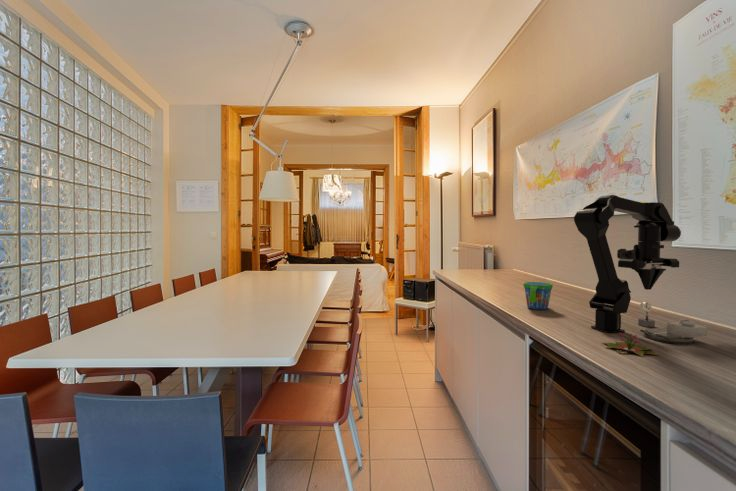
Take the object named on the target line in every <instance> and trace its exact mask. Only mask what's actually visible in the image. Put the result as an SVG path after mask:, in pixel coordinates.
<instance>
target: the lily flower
mask: <svg viewBox="0 0 736 491" xmlns="http://www.w3.org/2000/svg"><path fill="white" fill-rule="evenodd" d="M618 333H619V335H620V336H623V337H620V340H621V341H620V342H619V341H614V342H603V344H604V345H607V346H606V349H615V350H616V351H617V353H618V354H620V353H621V354H620V355H623V354H628V353H627V352H623V351H620V349H621V350H624V349H627V351H629V352H630V353H629V354H634V353H635V354H636V355H638V356H640V357H642V358H644V354H645V355H654V356H660V355H659V354H657V353H655V352H654V351H653V348H652V349H651V348H649V347H646V346H644V345H640V344H638V343H640V342H641V341H640V339H636V340H634V339H635V338H637V337H638V336H637V334H634V335H632V332H631V333H630V337H629V338H630V339H629V338H628V336H627V334H626V332H624V334H625V335H624V334H623V333H622V332H618ZM623 338H624V339H623ZM631 350H632V351H631ZM634 350H635V351H634ZM622 352H623V353H622Z"/></svg>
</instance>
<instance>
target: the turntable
mask: <svg viewBox="0 0 736 491" xmlns="http://www.w3.org/2000/svg"><path fill="white" fill-rule="evenodd" d="M639 332H641V333H642V336H643V337H644V338H647V339H649V340H652V341H657V342H660V343H661V342H662V343H666V344H674V345H691V344H694V339H695V337H692V338H690V337H686V336H682V335H679V334H675V333H671V332H667V326H666V327H653V328H642V329H641V328H640V329H639Z"/></svg>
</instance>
